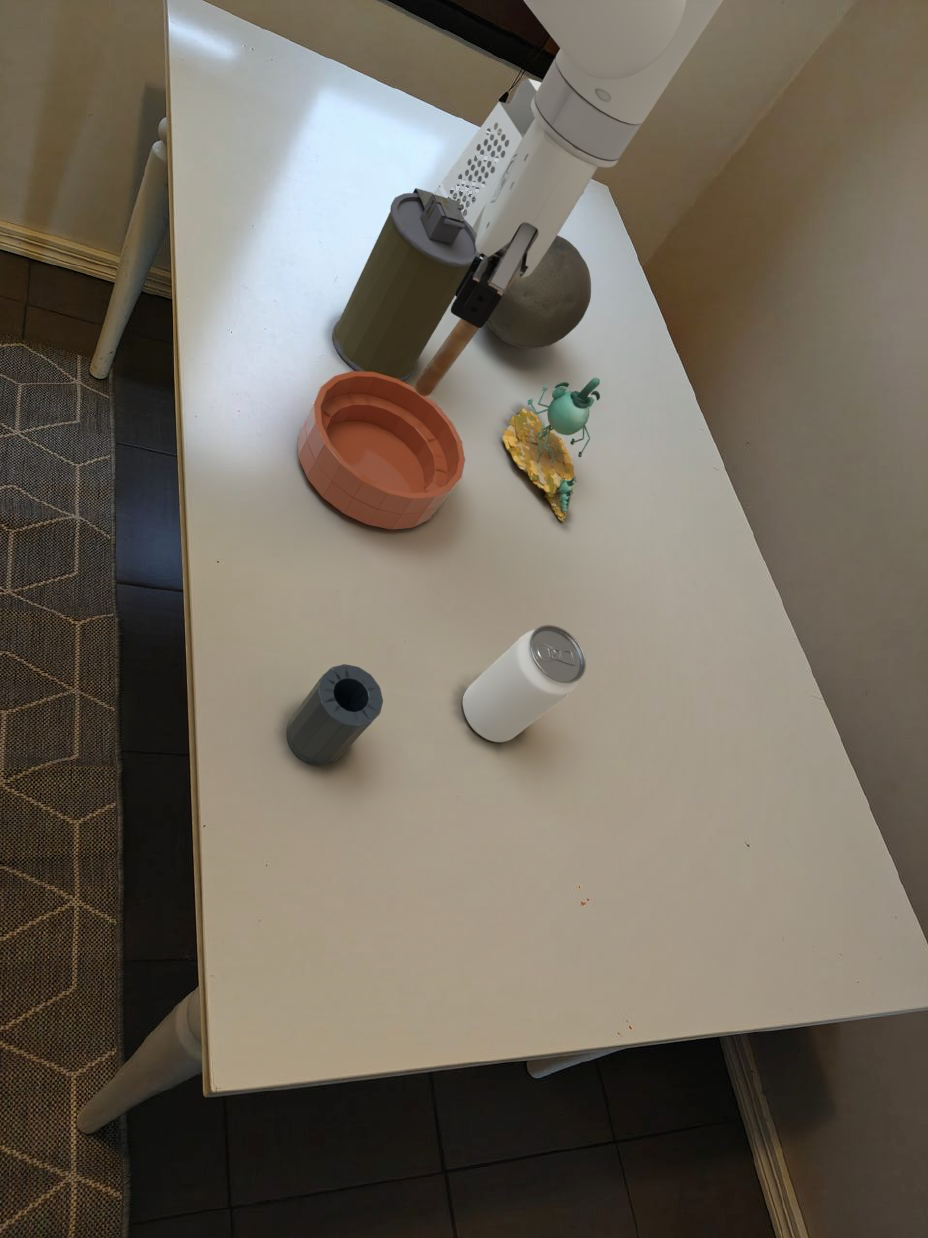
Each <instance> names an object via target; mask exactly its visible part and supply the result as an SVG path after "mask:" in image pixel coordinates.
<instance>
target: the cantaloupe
mask: <svg viewBox="0 0 928 1238" xmlns="http://www.w3.org/2000/svg"><path fill="white" fill-rule="evenodd" d="M520 268H521V266H520ZM520 268H519V270H518V271H517V273H516V277H515V280H514V282H513V283H512V284H511V286H510V287H509V288H508V290H507V291H506V293H505V294H504V295H503V297H502V298H501V300H500V301H499V303H498V305H497V306H496V308H495V309H494V311H493V313H492V314H491V316H490V317H489V319H488V321H487V322H486V324H487V326H488V327H489V329H490V330H491V331H492V333H494V334H495V335H496V336H497V338H499V339H500V340H501V341H502V342H504V343H506V344H509V345H511V346H513V347H518V348H523V349H541V348H544V347H549V346H552V345H554V344H556V343H558V342H559V341H561V340H563V339H564V338H565V337H566V336H568V335H569V334H570V333H571V332H572V331H573V330H574V329H575V328H576V327H577V326H578V325H579V324H580V322H581V321H582V320H583V318H584V316H585V315H586V312H587V310H588V308H589V306H590V303H591V299H592V279H591V278H592V277H591V272H590V270H589V266H588V264H587V262H586V260H585V259H584V258H583V256H582V254H581V252H580V251H579V250H578V249H577V248H576V247H575V246H574V245H573V244H572V243H571V242H570V241H569V240H568V239H566V238H564V237H562V236H561V235H558V234H557V236H556V238H555V239H554V241H553V242H552V244H551V245H550V247H549V249H548V250H547V252H546V253H545V255H544V256H543V258H542V259H541V261H540V262H539V264H538V265H537V266H536V268H535V269H534V271H533V272H532V273H531V274H530V275H529V276H527V277H523V278H521V277H520Z"/></svg>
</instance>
